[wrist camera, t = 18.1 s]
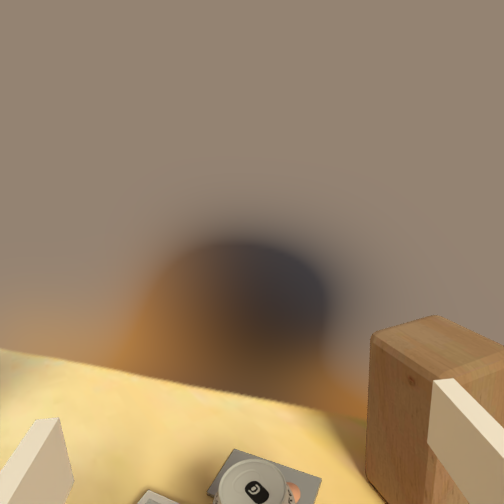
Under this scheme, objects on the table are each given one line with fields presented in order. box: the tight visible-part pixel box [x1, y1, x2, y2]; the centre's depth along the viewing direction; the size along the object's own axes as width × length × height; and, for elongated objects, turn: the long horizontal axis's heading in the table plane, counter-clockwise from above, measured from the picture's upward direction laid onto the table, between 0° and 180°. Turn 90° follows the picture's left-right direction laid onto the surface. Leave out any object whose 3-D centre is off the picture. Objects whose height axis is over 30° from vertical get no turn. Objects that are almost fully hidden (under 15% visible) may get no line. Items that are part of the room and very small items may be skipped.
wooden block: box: [365, 315, 504, 504], centre depth 40 cm, size 10×10×20 cm
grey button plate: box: [207, 449, 322, 504], centre depth 44 cm, size 12×7×1 cm, turn 65°
